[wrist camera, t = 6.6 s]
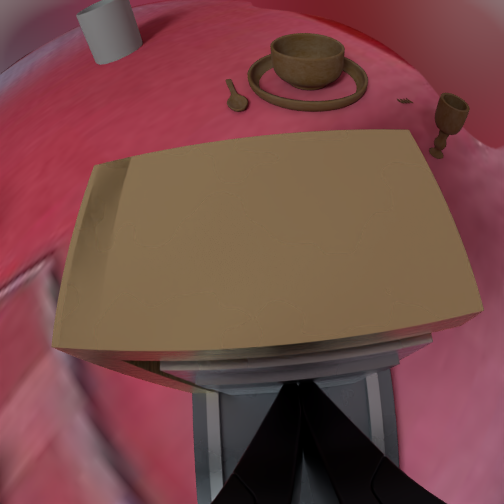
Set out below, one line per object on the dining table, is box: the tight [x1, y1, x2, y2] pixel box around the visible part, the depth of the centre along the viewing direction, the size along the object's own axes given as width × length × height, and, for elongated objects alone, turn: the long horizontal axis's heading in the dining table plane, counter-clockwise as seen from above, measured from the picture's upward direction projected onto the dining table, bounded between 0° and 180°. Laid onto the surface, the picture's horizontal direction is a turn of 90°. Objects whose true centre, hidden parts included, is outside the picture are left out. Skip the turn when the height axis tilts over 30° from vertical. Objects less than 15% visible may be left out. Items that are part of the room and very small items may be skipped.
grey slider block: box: [160, 333, 433, 395], centre depth 10 cm, size 2×6×9 cm, turn 94°
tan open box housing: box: [52, 129, 484, 393], centre depth 12 cm, size 7×9×11 cm
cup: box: [77, 0, 142, 65], centre depth 36 cm, size 8×8×10 cm
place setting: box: [226, 33, 469, 159], centre depth 24 cm, size 18×20×6 cm
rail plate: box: [192, 369, 399, 504], centre depth 14 cm, size 17×10×1 cm, turn 3°
